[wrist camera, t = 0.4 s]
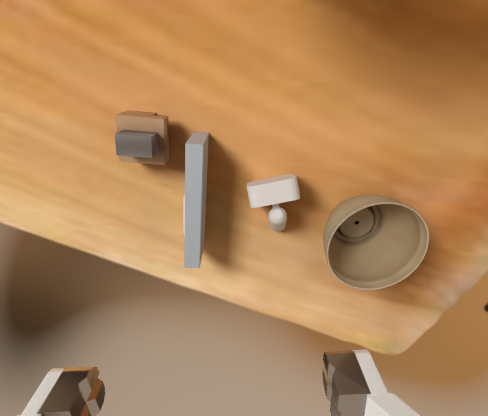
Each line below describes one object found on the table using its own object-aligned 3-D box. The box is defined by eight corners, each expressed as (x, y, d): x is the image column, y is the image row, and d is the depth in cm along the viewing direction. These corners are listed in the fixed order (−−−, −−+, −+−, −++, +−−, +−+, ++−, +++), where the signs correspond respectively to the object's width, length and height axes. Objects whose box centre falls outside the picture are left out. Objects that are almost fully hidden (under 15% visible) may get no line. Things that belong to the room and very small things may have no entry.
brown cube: (127, 110, 50) (106, 118, 42) (171, 114, 50) (158, 122, 42) (130, 152, 53) (110, 168, 45) (171, 156, 53) (159, 171, 45)
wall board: (185, 131, 51) (175, 142, 43) (208, 132, 51) (203, 144, 43) (184, 239, 60) (176, 266, 52) (204, 241, 60) (199, 268, 52)
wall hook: (258, 233, 59) (258, 250, 49) (247, 181, 57) (246, 187, 47) (299, 225, 58) (309, 241, 48) (290, 172, 56) (298, 177, 47)
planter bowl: (358, 267, 63) (380, 304, 53) (295, 230, 59) (306, 263, 49) (415, 207, 58) (452, 235, 48) (349, 162, 54) (374, 183, 44)
